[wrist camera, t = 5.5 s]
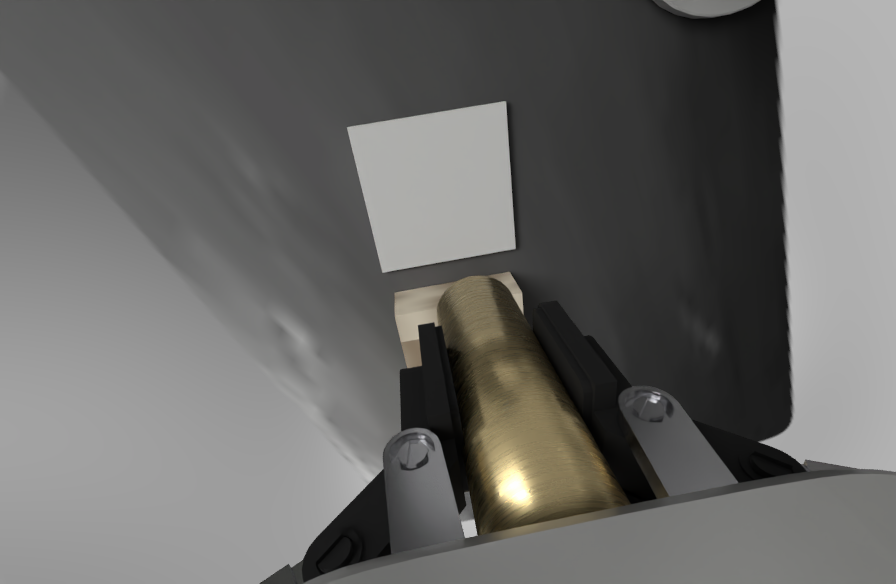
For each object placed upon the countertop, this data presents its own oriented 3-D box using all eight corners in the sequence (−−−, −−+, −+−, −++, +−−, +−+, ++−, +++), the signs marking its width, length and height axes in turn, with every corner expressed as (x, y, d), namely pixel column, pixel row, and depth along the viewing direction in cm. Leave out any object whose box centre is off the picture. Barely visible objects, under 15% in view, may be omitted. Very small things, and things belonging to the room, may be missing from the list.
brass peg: (512, 269, 15) (694, 552, 6) (516, 337, 16) (667, 646, 7) (431, 283, 14) (490, 595, 6) (442, 350, 16) (503, 683, 7)
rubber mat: (504, 101, 25) (505, 101, 25) (514, 246, 30) (515, 248, 30) (347, 126, 25) (347, 127, 25) (382, 270, 30) (382, 272, 29)
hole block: (509, 271, 31) (522, 292, 28) (523, 448, 41) (533, 478, 37) (394, 292, 31) (394, 315, 28) (435, 465, 40) (438, 497, 37)
